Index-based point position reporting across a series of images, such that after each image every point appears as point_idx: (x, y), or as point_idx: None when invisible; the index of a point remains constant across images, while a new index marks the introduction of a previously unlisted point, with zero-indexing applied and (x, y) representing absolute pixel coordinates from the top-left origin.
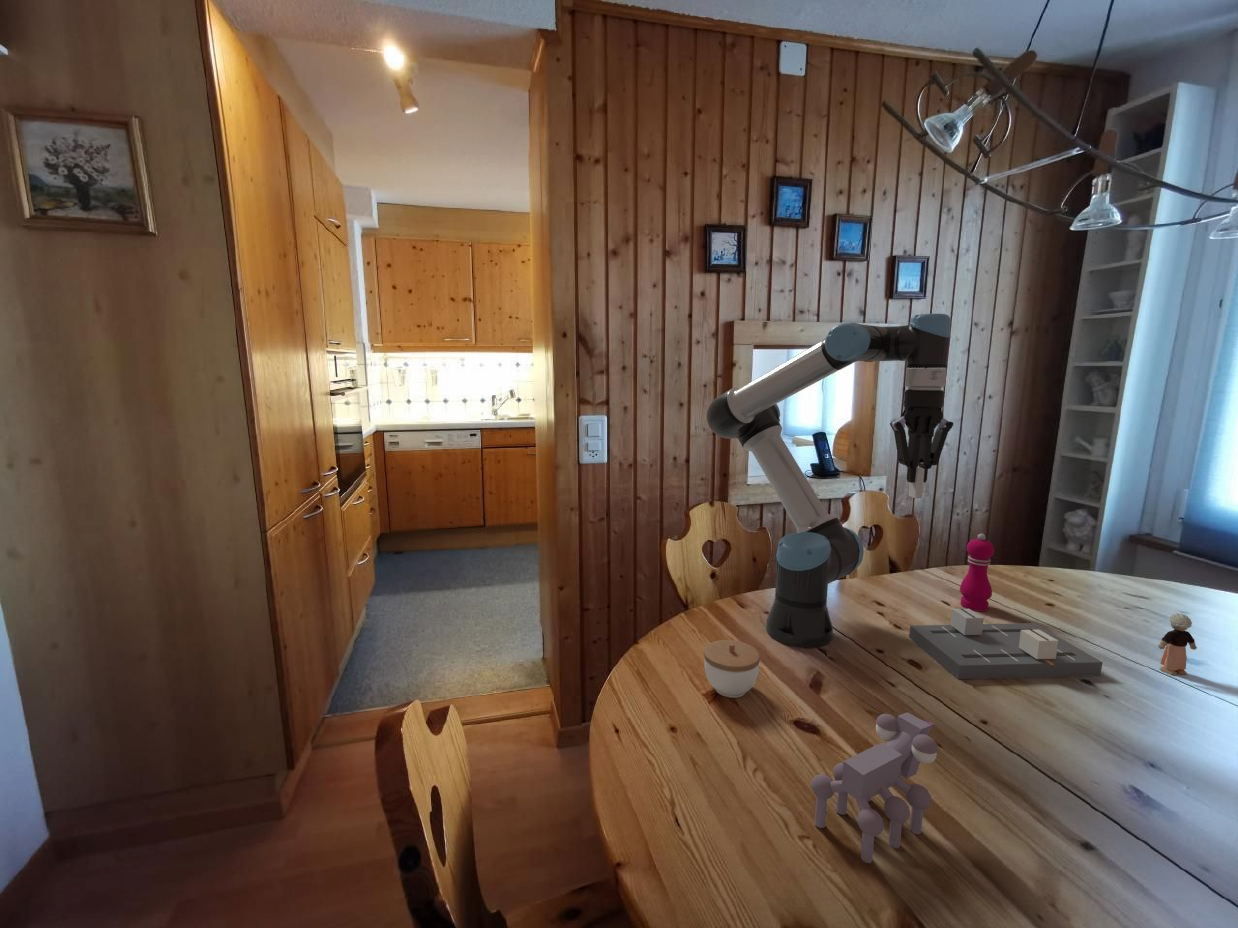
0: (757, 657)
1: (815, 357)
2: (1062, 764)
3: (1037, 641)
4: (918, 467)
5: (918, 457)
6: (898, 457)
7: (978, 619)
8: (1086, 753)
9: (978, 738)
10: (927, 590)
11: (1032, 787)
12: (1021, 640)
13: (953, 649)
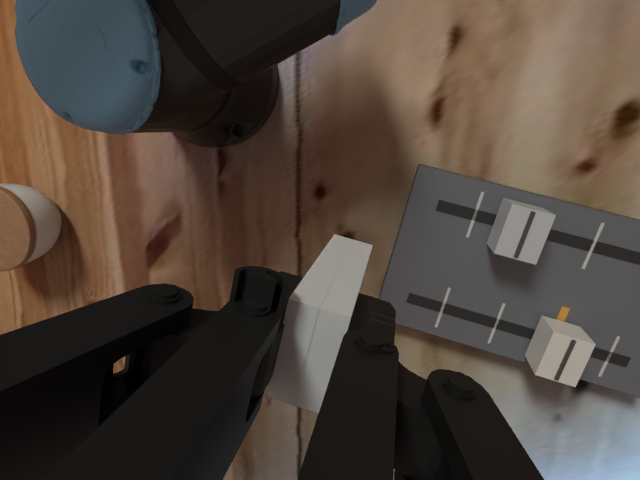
0: (21, 256)
1: None
2: None
3: (535, 369)
4: (329, 347)
5: (227, 465)
6: (101, 308)
7: (522, 260)
8: None
9: (281, 406)
10: None
11: (268, 472)
12: (545, 326)
13: (414, 273)
